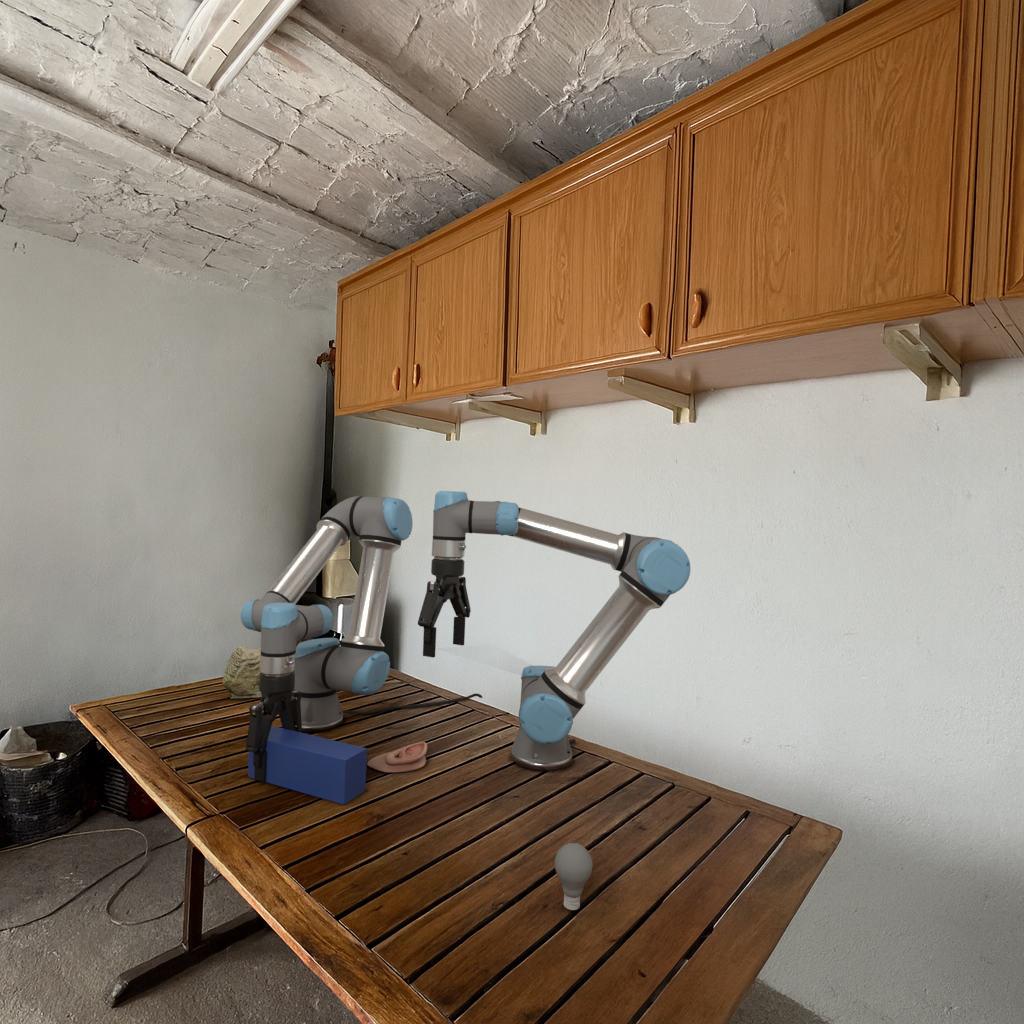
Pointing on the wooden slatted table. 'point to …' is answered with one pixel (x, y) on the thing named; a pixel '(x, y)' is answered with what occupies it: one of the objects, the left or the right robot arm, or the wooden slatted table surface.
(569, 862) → the light bulb
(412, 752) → the anatomical model
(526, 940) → the wooden slatted table surface
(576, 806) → the wooden slatted table surface
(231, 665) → the fossil
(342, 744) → the box
